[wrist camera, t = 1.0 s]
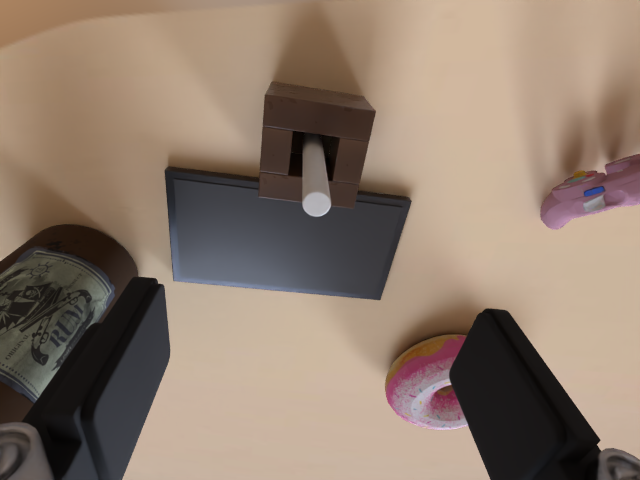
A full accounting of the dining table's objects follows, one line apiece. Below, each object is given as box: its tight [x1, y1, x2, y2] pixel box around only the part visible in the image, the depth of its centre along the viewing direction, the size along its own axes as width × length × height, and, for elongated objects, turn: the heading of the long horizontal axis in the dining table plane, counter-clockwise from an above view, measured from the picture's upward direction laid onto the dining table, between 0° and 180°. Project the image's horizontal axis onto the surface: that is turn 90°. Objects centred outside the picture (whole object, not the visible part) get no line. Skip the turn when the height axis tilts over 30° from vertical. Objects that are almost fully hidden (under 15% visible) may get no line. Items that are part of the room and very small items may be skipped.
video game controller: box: [541, 154, 640, 229], centre depth 28 cm, size 10×5×7 cm, turn 114°
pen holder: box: [258, 82, 376, 209], centre depth 25 cm, size 7×7×5 cm
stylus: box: [302, 132, 331, 216], centre depth 22 cm, size 1×1×12 cm
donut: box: [385, 334, 468, 430], centre depth 40 cm, size 14×13×5 cm
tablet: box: [165, 167, 411, 300], centre depth 32 cm, size 11×20×1 cm, turn 81°
